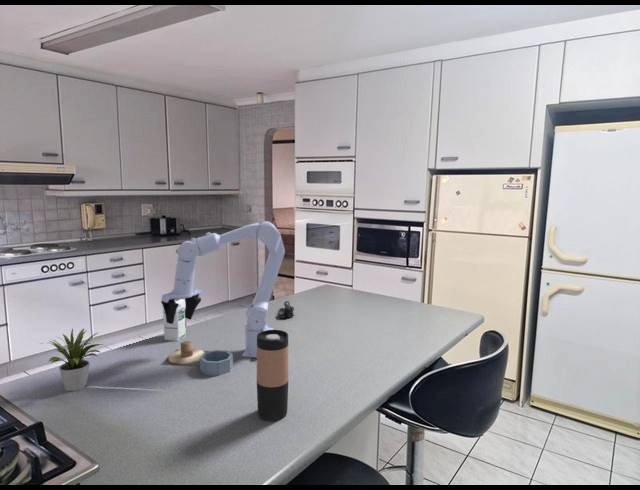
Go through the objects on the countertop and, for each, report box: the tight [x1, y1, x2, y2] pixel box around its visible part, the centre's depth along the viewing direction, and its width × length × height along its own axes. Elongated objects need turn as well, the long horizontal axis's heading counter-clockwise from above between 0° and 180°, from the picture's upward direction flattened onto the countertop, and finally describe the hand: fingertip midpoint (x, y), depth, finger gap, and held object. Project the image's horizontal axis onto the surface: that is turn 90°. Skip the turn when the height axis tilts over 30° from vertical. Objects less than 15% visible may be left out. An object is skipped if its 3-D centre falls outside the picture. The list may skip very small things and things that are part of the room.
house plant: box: [39, 328, 105, 392], centre depth 109 cm, size 14×14×16 cm
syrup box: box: [162, 298, 188, 342], centre depth 147 cm, size 6×6×14 cm
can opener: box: [278, 300, 295, 319], centre depth 181 cm, size 18×7×6 cm, turn 3°
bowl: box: [199, 349, 234, 377], centre depth 123 cm, size 9×9×4 cm
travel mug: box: [256, 329, 289, 422], centre depth 99 cm, size 8×8×20 cm
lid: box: [168, 340, 205, 365], centre depth 130 cm, size 11×11×5 cm
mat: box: [159, 349, 211, 368], centre depth 131 cm, size 12×12×1 cm
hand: (179, 320), depth 130 cm, fingers open, 7 cm apart
